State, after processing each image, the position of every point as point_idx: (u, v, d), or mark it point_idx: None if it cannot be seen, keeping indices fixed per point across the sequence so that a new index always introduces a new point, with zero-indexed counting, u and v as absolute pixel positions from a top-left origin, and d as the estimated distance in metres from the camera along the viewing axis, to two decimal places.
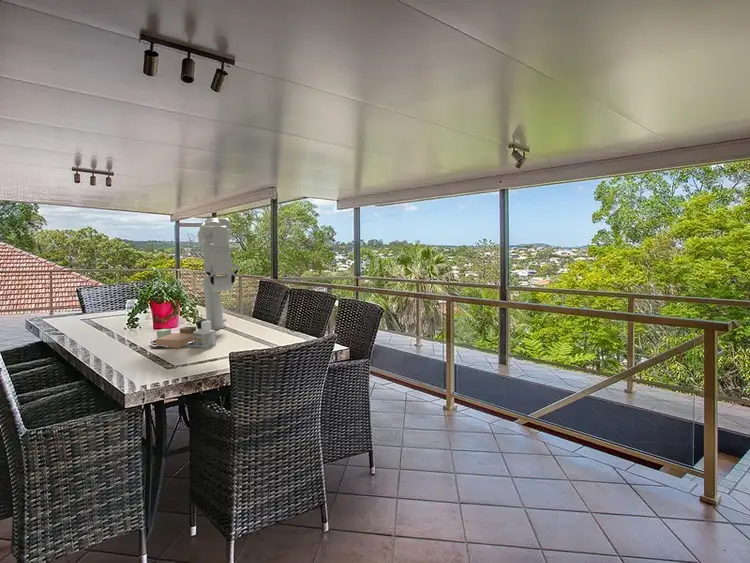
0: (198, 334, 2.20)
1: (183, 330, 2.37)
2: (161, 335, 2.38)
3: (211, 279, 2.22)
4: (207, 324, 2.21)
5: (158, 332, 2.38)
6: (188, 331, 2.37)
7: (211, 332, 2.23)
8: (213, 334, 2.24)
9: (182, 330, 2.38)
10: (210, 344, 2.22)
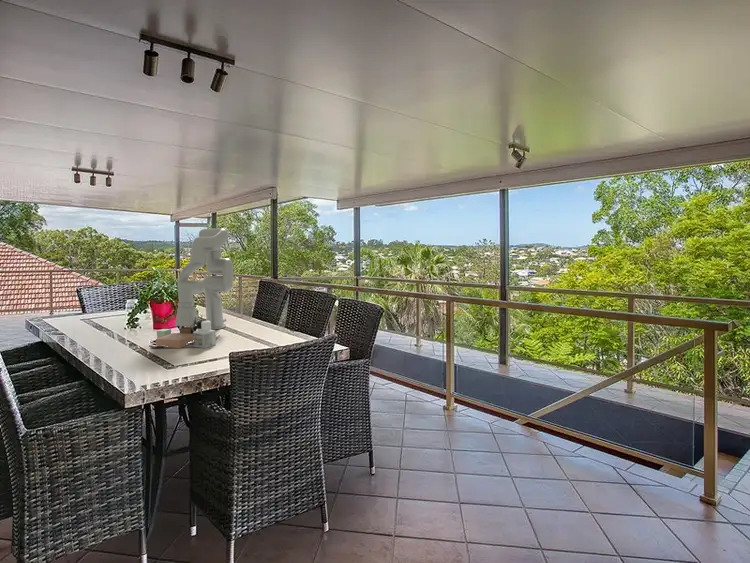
0: (198, 334, 2.20)
1: (183, 330, 2.37)
2: (161, 335, 2.38)
3: None
4: (207, 324, 2.21)
5: (158, 332, 2.38)
6: (188, 331, 2.37)
7: (211, 332, 2.23)
8: (213, 334, 2.24)
9: (182, 330, 2.37)
10: (210, 344, 2.22)
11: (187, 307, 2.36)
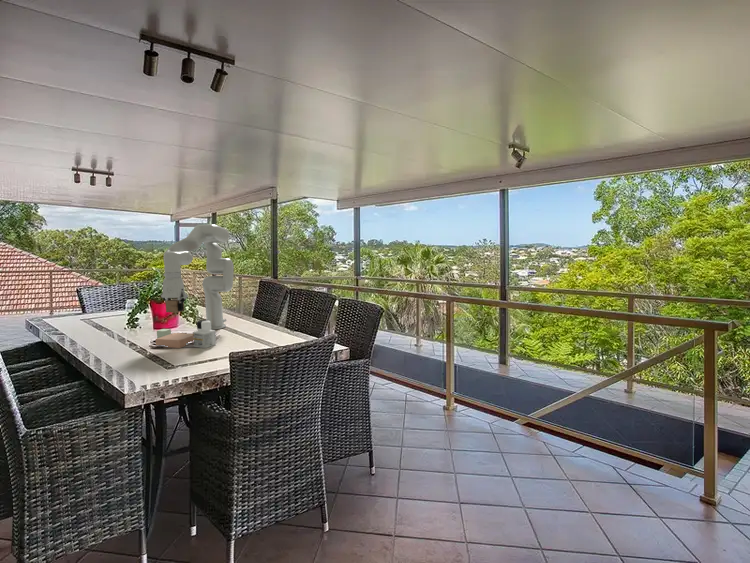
0: (198, 334, 2.20)
1: (169, 302, 2.24)
2: (161, 335, 2.38)
3: None
4: (207, 324, 2.21)
5: (158, 332, 2.38)
6: (174, 303, 2.23)
7: (211, 332, 2.23)
8: (213, 334, 2.24)
9: (168, 302, 2.24)
10: (210, 344, 2.22)
11: (173, 277, 2.22)
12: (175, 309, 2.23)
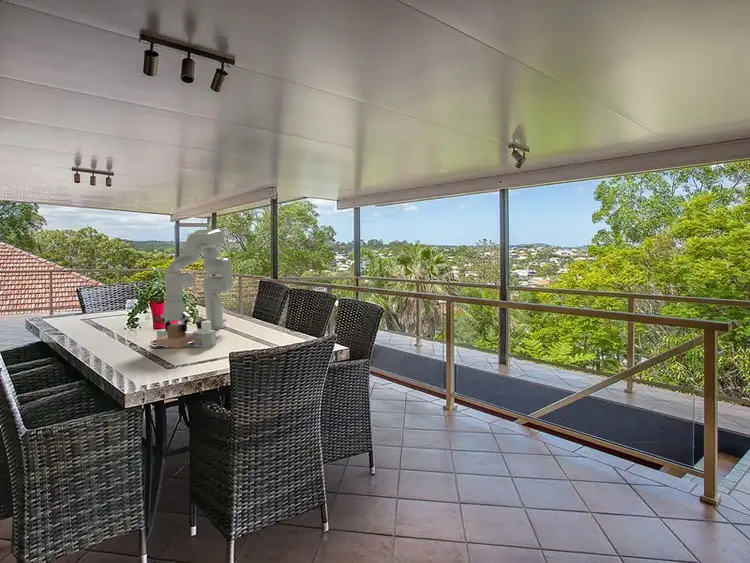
0: (198, 334, 2.20)
1: (171, 327, 2.25)
2: (161, 335, 2.38)
3: None
4: (207, 324, 2.21)
5: (158, 332, 2.38)
6: (176, 328, 2.24)
7: (211, 332, 2.23)
8: (213, 334, 2.24)
9: (170, 327, 2.25)
10: (210, 344, 2.22)
11: (175, 300, 2.23)
12: (177, 334, 2.25)
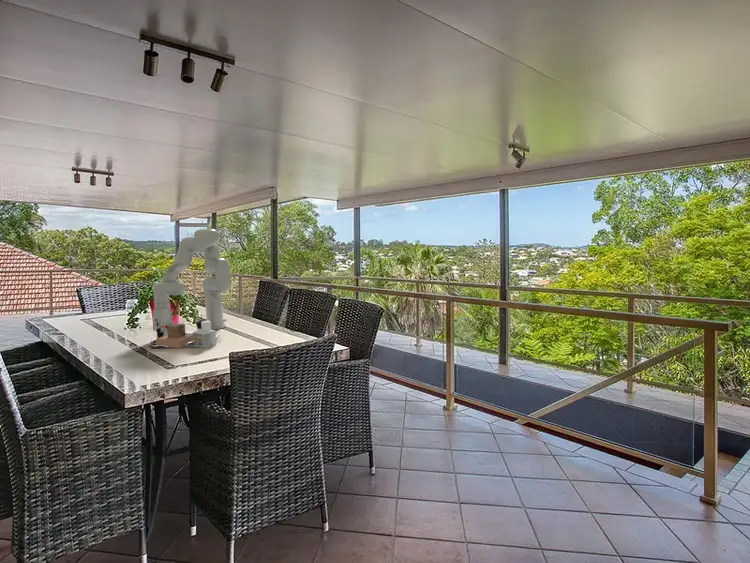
0: (198, 334, 2.20)
1: (171, 327, 2.25)
2: None
3: (160, 334, 2.37)
4: (207, 324, 2.21)
5: None
6: (176, 328, 2.24)
7: (211, 332, 2.23)
8: (213, 334, 2.24)
9: (170, 327, 2.25)
10: (210, 344, 2.22)
11: None
12: (177, 334, 2.25)
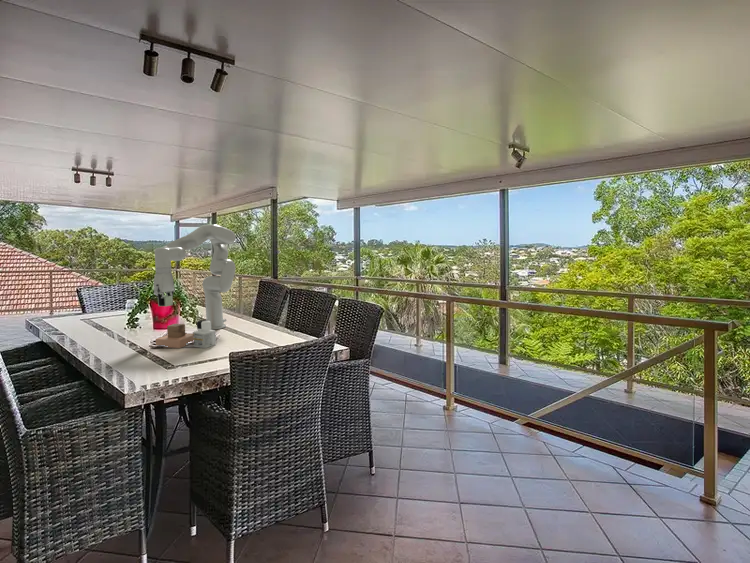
0: (198, 334, 2.20)
1: (171, 327, 2.25)
2: None
3: (161, 301, 2.31)
4: (207, 324, 2.21)
5: None
6: (176, 328, 2.24)
7: (211, 332, 2.23)
8: (213, 334, 2.24)
9: (170, 327, 2.25)
10: (210, 344, 2.22)
11: None
12: (177, 334, 2.25)
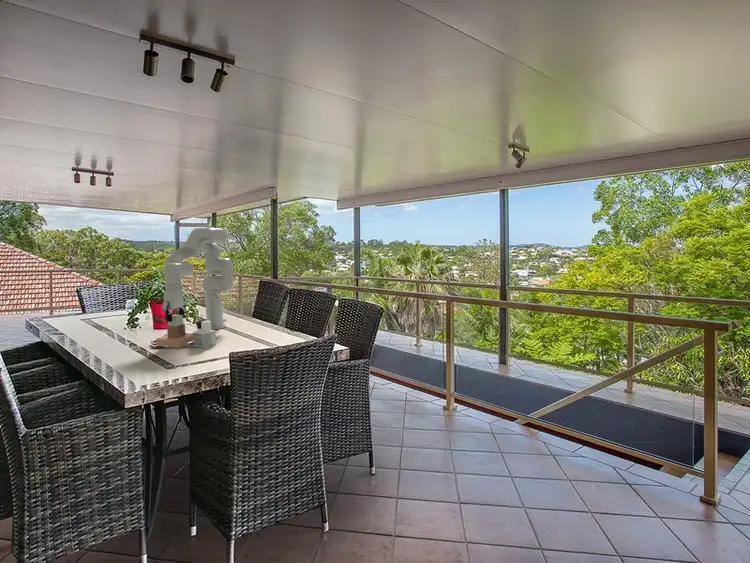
0: (198, 334, 2.20)
1: (171, 327, 2.25)
2: (172, 321, 2.25)
3: (169, 316, 2.22)
4: (207, 324, 2.21)
5: None
6: (176, 328, 2.24)
7: (211, 332, 2.23)
8: (213, 334, 2.24)
9: (170, 327, 2.25)
10: (210, 344, 2.22)
11: None
12: (177, 334, 2.25)
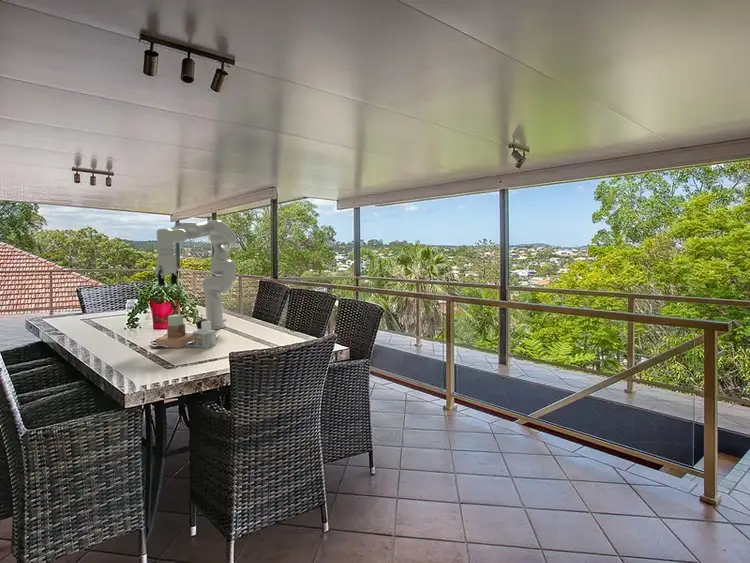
0: (198, 334, 2.20)
1: (171, 327, 2.25)
2: (172, 321, 2.25)
3: (161, 280, 2.27)
4: (207, 324, 2.21)
5: (169, 318, 2.25)
6: (176, 328, 2.24)
7: (211, 332, 2.23)
8: (213, 334, 2.24)
9: (170, 327, 2.25)
10: (210, 344, 2.22)
11: (158, 254, 2.29)
12: (177, 334, 2.25)
